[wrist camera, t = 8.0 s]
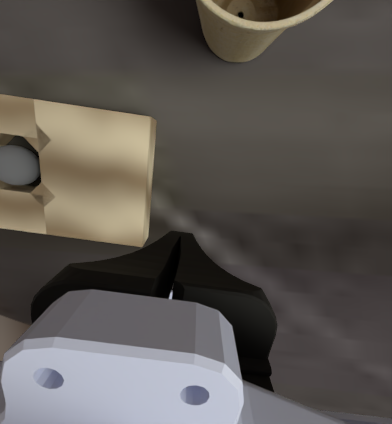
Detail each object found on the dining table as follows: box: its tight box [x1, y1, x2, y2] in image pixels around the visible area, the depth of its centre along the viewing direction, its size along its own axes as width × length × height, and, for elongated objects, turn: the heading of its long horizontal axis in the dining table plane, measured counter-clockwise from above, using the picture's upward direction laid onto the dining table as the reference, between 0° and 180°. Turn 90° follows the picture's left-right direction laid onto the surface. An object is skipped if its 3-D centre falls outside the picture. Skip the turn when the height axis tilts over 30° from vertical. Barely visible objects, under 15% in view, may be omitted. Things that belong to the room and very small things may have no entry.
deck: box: [0, 94, 157, 247], centre depth 19 cm, size 12×17×2 cm
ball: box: [0, 145, 41, 185], centre depth 18 cm, size 4×4×4 cm
